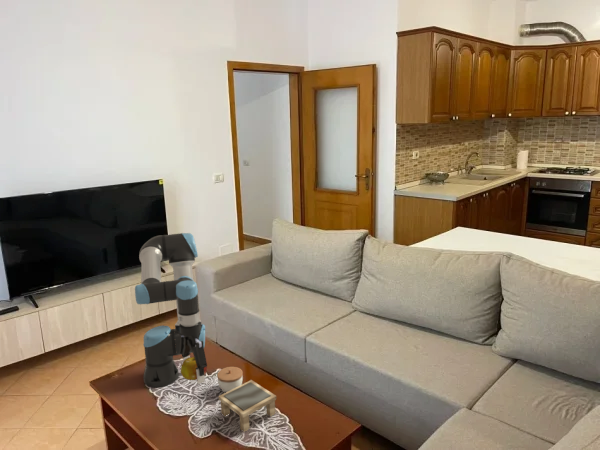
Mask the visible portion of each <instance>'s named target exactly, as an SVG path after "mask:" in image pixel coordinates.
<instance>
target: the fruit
mask: <svg viewBox="0 0 600 450" xmlns="http://www.w3.org/2000/svg"><path fill="white" fill-rule="evenodd" d="M207 367H208V366H207ZM207 367H205V368H204V376H205V375H206V374H207V369H208V368H207ZM196 368H197V364H196V361H195V358H194V356H192V357H191V356H190V358H187V359H186V360H184V362H182V364H181V366H180V373H181V376H182V377H183V378H184V379H185V380H187V381H196V380H197V372H196Z"/></svg>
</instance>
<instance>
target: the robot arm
mask: <svg viewBox="0 0 600 450" xmlns="http://www.w3.org/2000/svg"><path fill="white" fill-rule="evenodd" d="M138 256H139V257H138V258H139V262H140V263H141V269H140V271H141V275H140V276H141V277H140V279H141V280H140V284H137V285H135V287H134V295H135V302H136V304H137V305H150V304H157V303H162V302H171V301H175V304H176V313H177V321H176V323H175V324H174V328H170V326H169V325H158V326H155V327H152V328H150V329H149V330H148V331H146V332H145V333H144V334H143V347H144V355H145V356H144V358H145V369H144V374H143V382H144V384H145V385H146V386H147V387H150V388H162V387H166V386H168V385H171V384H173V383H174V382H176V380H178V378H179V376H180V374H179V373H180V372H179V369H178V366H177V365H176V363H175V361H174V357H175V356H181V357H182V359H183V362H184V360H186V359H187V358H190V357H191V353H192V355H193V357H194V358H195V361H196V364H197V368H196V372H197V381H196V382H197V383H196V384H197V385H200V384H202V383H205V382H206V378H205V377H206V376H205V375H204V368H205V367H208V362H207V357H206V353H205V345H206V324H203V323H202V320H201V315H200V314H201V313H200V308H199V306H200V305H199V304H200V303H199V294H198V293H199V289H198V284H197V282H196V281H194V272H193V265H194V264H195V262H196V258H198V256H199V254H198V250H197V244H196V241H195V238H194V235H193V234H192V233H190V232H187V233H185V232H181V233H173V234H172V233H171V234H163V235H156V236H153V237H151V238H150V239H148V240H147V241H146V242H145V243H144V244H143V245H142V246H141V248H140V250H139V255H138ZM163 261H165V262H166V261H168V264H169V266H170V267H172V273H173V280H168V281H167V280H165V281H162V271H161V262H163ZM183 362H182V363H183Z"/></svg>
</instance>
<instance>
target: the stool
mask: <svg viewBox="0 0 600 450" xmlns="http://www.w3.org/2000/svg"><path fill="white" fill-rule="evenodd" d="M276 400H277V395H276V394H274V393H272V392H271V391H269V390H268V389H266V388H264V387H263V386H261V384H258V383H257V382H255V381H254V380H252V379H250V380H248V381H247V382H244V383H242V385H240V386H238V387H236V388H234V389H232V390H230V391H228V392H226V393H225V392H224V393H222V394H220V395H218V401H219V402H220V410H221V411H220V412H221V413H222V414H223V415H224V416H226V415H228V414H230V415H231V410H232V411H233V412H234V413H236V414H237V415H238V416H239V427H240V430H241V431H242V430H243V431H244V433H246V432H247V431H249V430H250V415H251V414H253V413H254V412H257V411H259V410H260V409H262V408H264V407H266V415H267V414H268V415H267V416H269V415H270V416H271V417H273V416H274V414H275V415H276ZM222 414H221V415H222ZM223 415H222V416H223ZM272 415H273V416H272ZM224 416H223V417H224ZM228 416H229V415H228ZM270 416H269V417H270ZM226 417H227V416H226ZM248 429H249V430H248ZM243 431H242V432H243ZM245 431H246V432H245Z"/></svg>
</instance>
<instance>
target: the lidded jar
mask: <svg viewBox="0 0 600 450" xmlns="http://www.w3.org/2000/svg"><path fill="white" fill-rule="evenodd" d="M243 373H244V372H243V370H242V369H241V368H240V367H237V366H227V367H224V368H222V369H219V371H218V372H217V374H216V377H217V383H218V386H219V388H220V389H221V390H222V391H223V392H224V391H225V392H228V391H230V390H232V389H234V388H236V387H238V386H240V385H242V384H243V379H244V377H243V376H244V375H243ZM225 392H224V393H225Z"/></svg>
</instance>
